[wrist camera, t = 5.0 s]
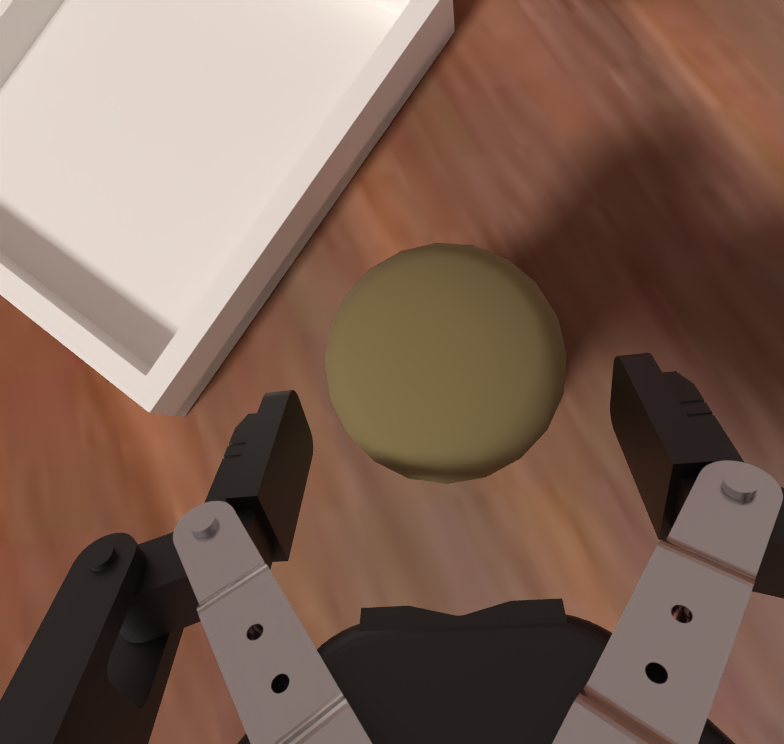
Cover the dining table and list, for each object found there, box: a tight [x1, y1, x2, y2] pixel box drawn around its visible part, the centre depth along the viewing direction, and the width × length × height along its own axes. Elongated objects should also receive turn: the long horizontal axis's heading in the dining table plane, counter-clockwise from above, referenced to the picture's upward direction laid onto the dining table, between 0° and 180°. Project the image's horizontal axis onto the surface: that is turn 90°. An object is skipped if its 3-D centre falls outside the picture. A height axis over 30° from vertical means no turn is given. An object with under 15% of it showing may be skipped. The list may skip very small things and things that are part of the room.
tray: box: [0, 0, 455, 417], centre depth 24 cm, size 20×18×2 cm
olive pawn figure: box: [325, 243, 567, 484], centre depth 16 cm, size 6×6×11 cm
